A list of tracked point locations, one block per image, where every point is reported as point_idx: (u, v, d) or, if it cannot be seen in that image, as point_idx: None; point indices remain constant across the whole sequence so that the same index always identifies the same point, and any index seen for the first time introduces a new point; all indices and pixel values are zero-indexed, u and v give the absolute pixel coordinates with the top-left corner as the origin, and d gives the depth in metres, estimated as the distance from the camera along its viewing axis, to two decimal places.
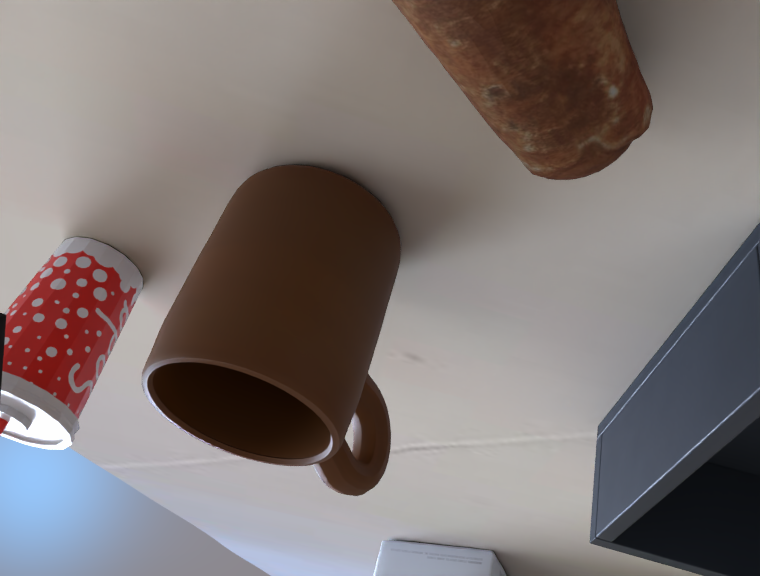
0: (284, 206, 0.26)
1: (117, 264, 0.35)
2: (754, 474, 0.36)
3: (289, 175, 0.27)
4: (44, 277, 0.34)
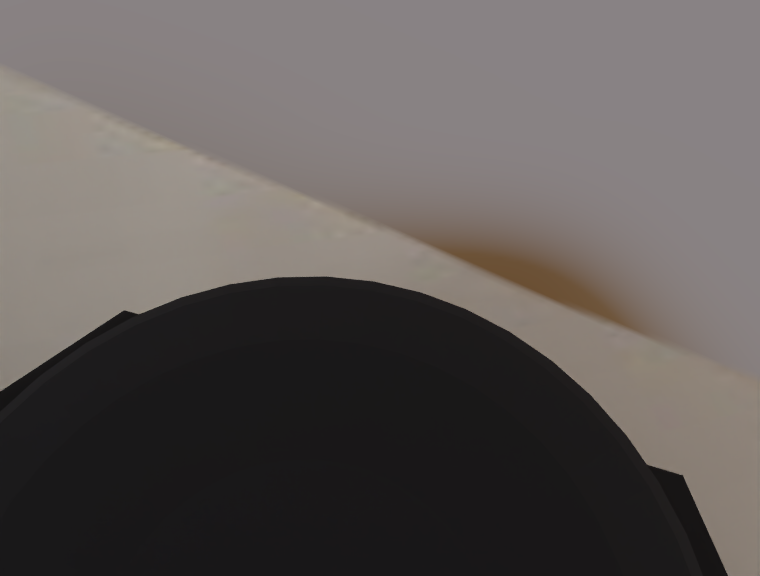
0: None
1: None
2: None
3: None
4: None
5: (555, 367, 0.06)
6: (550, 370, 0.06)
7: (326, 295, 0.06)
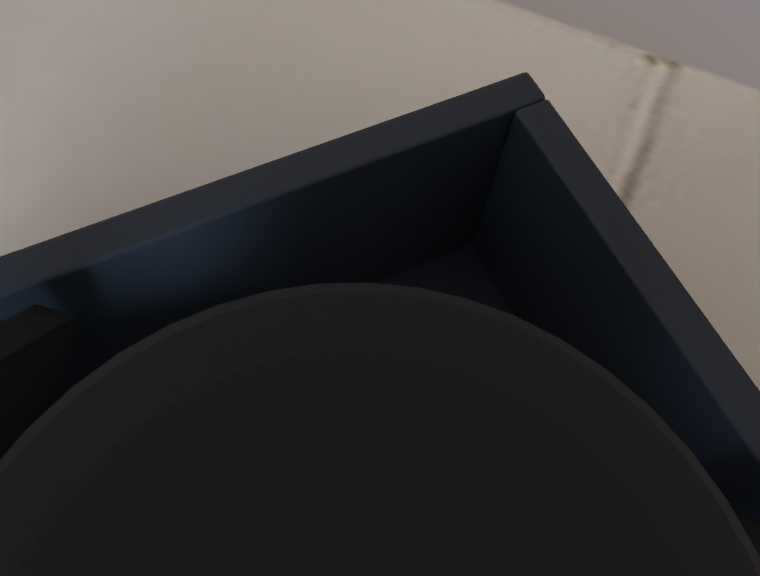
0: None
1: None
2: None
3: None
4: None
5: (614, 378, 0.06)
6: (610, 381, 0.05)
7: (371, 302, 0.05)
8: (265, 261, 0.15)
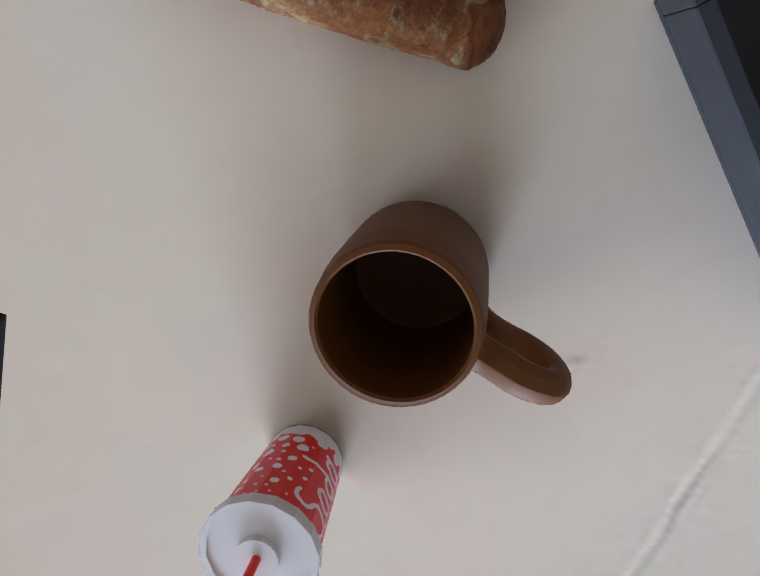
0: (366, 221, 0.35)
1: (310, 432, 0.41)
2: None
3: (367, 219, 0.37)
4: (258, 458, 0.40)
5: None
6: None
7: None
8: None
